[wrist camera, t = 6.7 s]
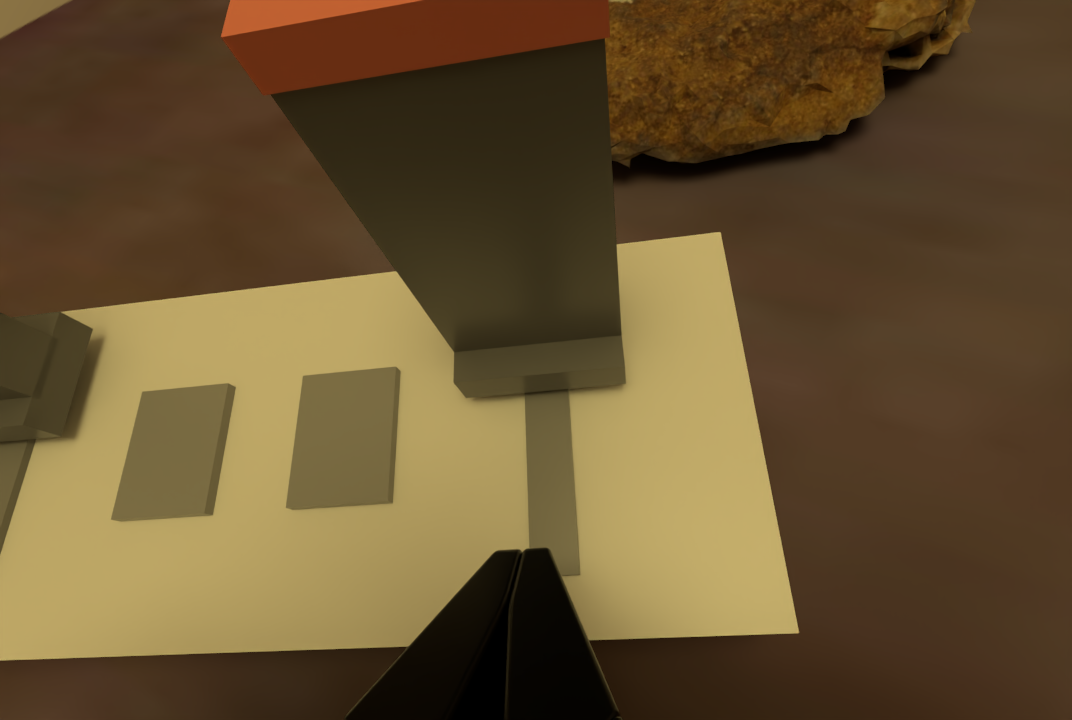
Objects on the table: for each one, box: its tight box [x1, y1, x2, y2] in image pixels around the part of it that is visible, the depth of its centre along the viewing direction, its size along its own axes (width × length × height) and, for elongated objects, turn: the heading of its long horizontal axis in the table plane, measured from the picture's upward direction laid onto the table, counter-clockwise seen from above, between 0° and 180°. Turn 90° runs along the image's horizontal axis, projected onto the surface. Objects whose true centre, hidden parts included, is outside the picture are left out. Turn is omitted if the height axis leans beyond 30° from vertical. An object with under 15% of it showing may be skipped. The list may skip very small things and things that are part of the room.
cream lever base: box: [0, 232, 799, 660], centre depth 16 cm, size 9×23×4 cm, turn 92°
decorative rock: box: [605, 0, 976, 169], centre depth 21 cm, size 11×4×15 cm
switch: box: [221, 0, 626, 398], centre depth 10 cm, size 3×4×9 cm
